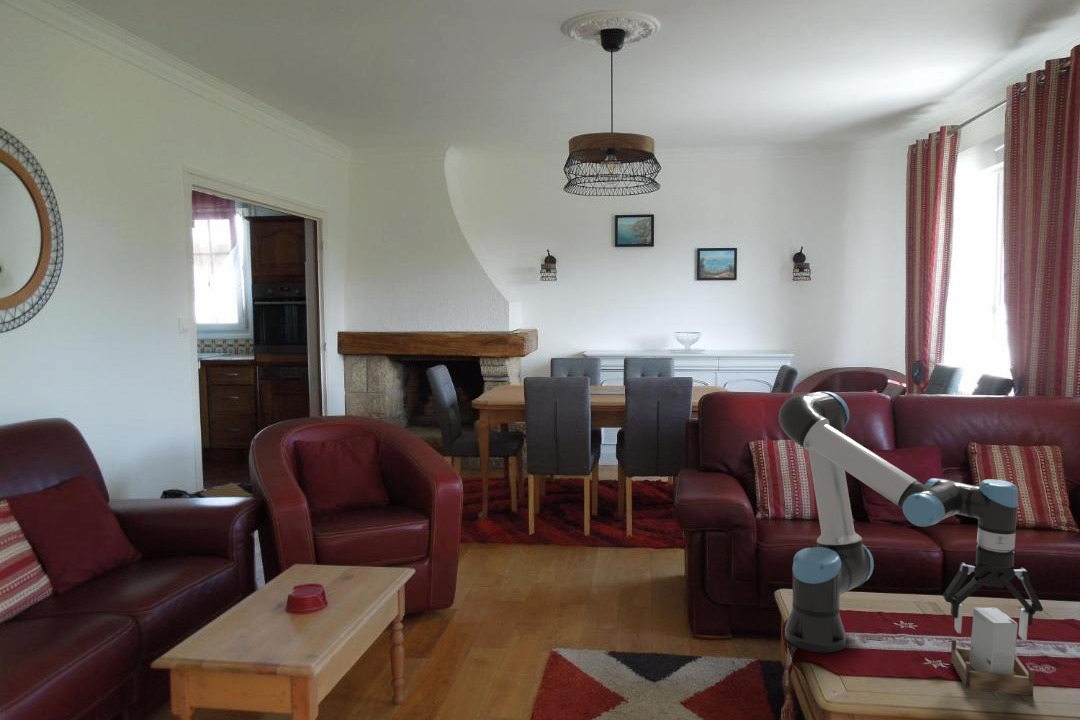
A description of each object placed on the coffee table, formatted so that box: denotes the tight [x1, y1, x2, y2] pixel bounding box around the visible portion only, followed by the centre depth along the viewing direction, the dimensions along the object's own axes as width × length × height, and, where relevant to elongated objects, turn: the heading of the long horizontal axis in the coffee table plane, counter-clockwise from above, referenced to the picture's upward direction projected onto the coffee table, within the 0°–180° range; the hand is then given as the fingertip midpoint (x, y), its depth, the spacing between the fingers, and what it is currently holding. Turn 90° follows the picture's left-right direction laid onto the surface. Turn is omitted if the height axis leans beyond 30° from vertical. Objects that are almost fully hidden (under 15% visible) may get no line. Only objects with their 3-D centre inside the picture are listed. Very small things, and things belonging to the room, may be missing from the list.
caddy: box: [950, 638, 1035, 697], centre depth 174 cm, size 14×13×6 cm
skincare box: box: [969, 607, 1019, 675], centre depth 173 cm, size 8×6×15 cm
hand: (989, 634), depth 174 cm, fingers open, 13 cm apart
